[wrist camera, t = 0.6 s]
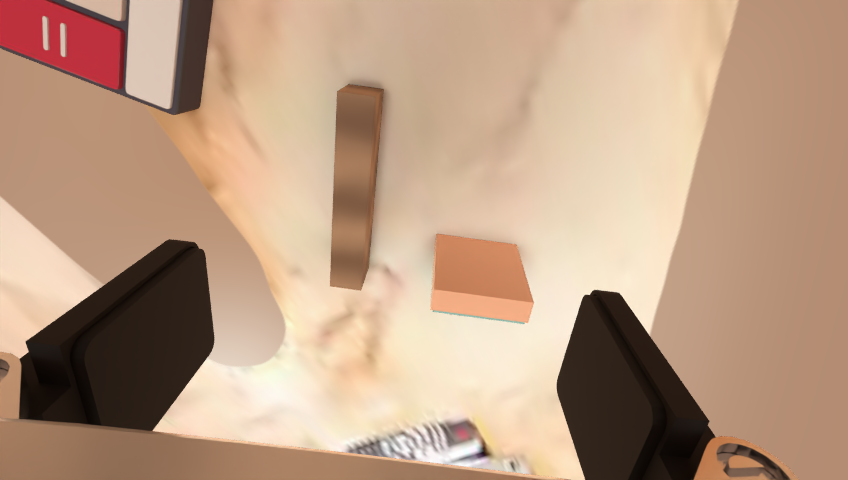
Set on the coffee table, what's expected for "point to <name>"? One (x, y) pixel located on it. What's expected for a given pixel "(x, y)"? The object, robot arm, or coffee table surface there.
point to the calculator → (117, 44)
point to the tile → (480, 280)
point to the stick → (354, 183)
